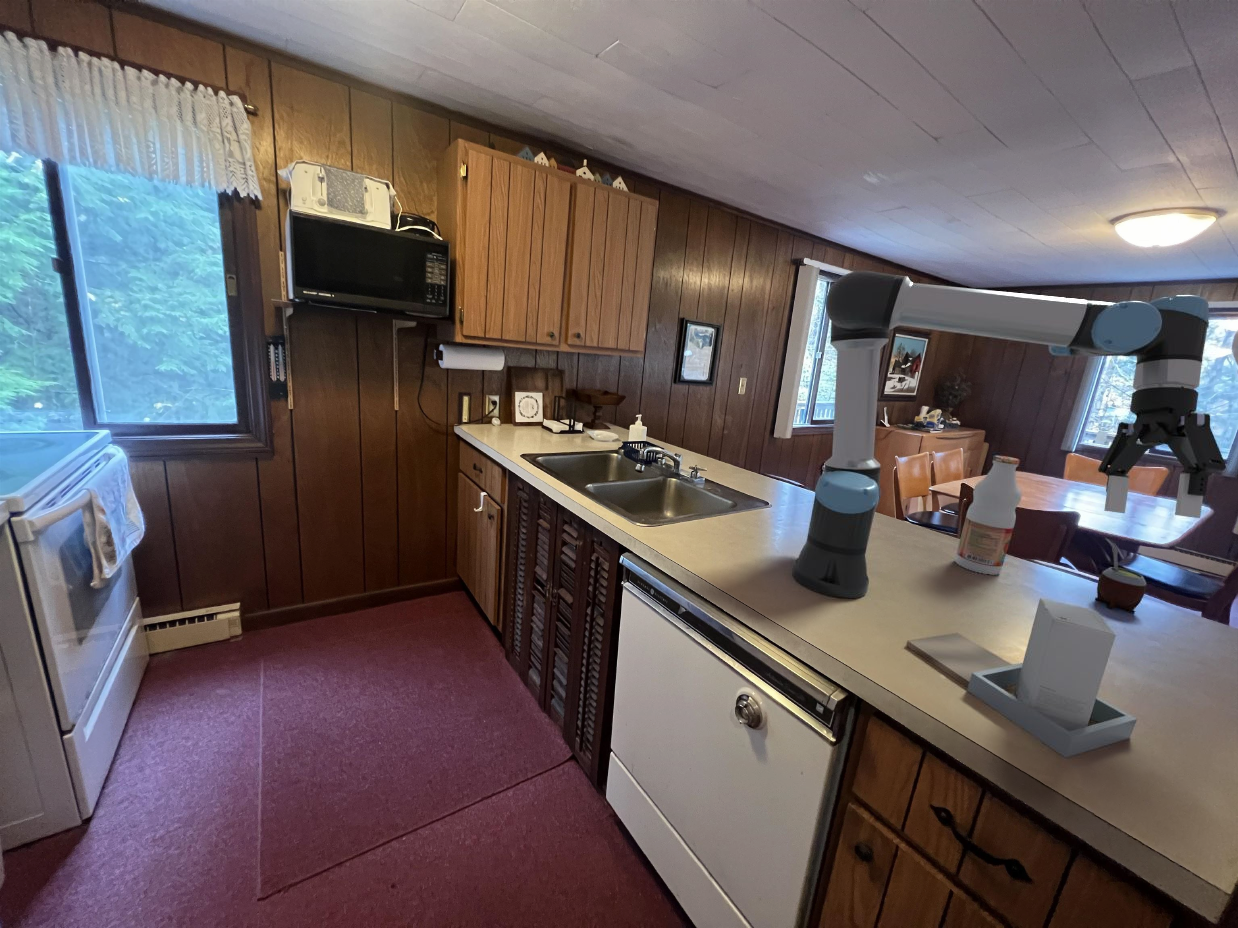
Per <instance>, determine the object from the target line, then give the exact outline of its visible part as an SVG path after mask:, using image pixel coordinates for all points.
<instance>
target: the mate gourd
mask: <svg viewBox="0 0 1238 928" xmlns="http://www.w3.org/2000/svg"><path fill="white" fill-rule="evenodd" d="M1104 540H1106V542H1107V543H1108V544H1109V545H1110V546H1111V548H1112V549H1111V551H1112V554H1113V567H1112V566H1111V567H1108V568H1106V569H1105V570H1103V571H1102V572H1101V574H1100V575H1099V577H1098V580H1097V587H1096V594H1097V596H1095V598H1094V600H1095V601H1097V602H1100V603H1102V604H1104V605H1108V606H1107V609H1108V610H1110V611H1113V610H1115V609H1119V610H1121V611H1124V612H1128V613H1130V614H1135V613H1136V611H1135V609H1136V608H1137V607H1138V606H1139V604H1140V603H1141V601H1142V600H1143V598H1144V595H1145V594H1146V592H1147V591H1146V590H1147V581H1146V579H1145V578H1144V576H1143V575H1141V574H1140V573H1138V572H1136V571H1132V570H1128V569H1126V568H1122V567H1119V565H1118V564H1119V562H1118V553H1119V551H1118V548H1117V547H1116V545H1115V543H1113V542H1112V541H1111V540H1110V539H1109V538H1107V537H1104Z"/></svg>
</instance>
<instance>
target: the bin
mask: <svg viewBox="0 0 1238 928" xmlns="http://www.w3.org/2000/svg"><path fill="white" fill-rule="evenodd" d="M1022 664H1023V662H1020V663H1015V664H1012V665H1009V666H1004V667H999V668H994V669H989V670H984V671H979V672H974V673H972V675H971V678H970V682H969V685H968V687H967V689H966V690H967V691H968V692H969V693H970V694H972V695H973V696H975V697H976V699H977V698H978V699H979V700H980V701H982V702H983V703H985V704H986V705H988V706H989V707H991V708H992V709H994V710H995V711H996V712H998V713H999V714H1001V716H1004V717H1005V718H1007V719H1008V720H1010V721H1011V722H1013V723H1014V724H1016V725H1017V726H1018V727H1020V728H1022V729H1023V730H1024V731H1025V732H1026V733H1029V734H1030V735H1031V736H1032V737H1034V738H1036V739H1037V740H1039V741H1040V742H1042V743H1043V744H1044V745H1046V746H1048V747H1049V748H1051V749H1052V750H1053V751H1054V752H1056V753H1058V754H1059V755H1060V756H1062V757H1064V758H1065V759H1066V758H1069V757H1072V756H1075V755H1076V756H1077V755H1078V754H1083V753H1086V752H1090V751H1092V750H1096V749H1098V748H1101V747H1102V748H1103V747H1104V746H1109V745H1112V744H1115V743H1118V742H1121V741H1125V740H1128V739H1130V738H1131V737H1132V734H1133V731H1134V729H1135V726H1136V724H1137V720H1138V718H1137V717H1135V716H1133V715H1131V714H1129V713H1127V712H1125V711H1123V710H1122V709H1120V708H1119V707H1116V706H1115V705H1113V704H1111V703H1110V702H1108V701H1105V700H1104V699H1102V698H1100V697H1099V696H1097V697H1096V700H1095V703H1094V706H1093V710H1092V713H1091V716H1090V719H1092V720H1093V721H1096V722H1097V723H1095V724H1092V725H1089V726H1087V727H1084V728H1080V729H1077V730H1073V731H1070V732H1069V731H1067V730H1066V729H1064V728H1063V727H1061V726H1059V725H1058V724H1056V723H1055V722H1053V721H1052V720H1050V719H1048V718H1047V717H1045V716H1044V715H1042V714H1041V713H1039V712H1037V711H1036V710H1034V709H1033V708H1031V707H1030V706H1028V705H1027V704H1025V703H1023V702H1022V701H1020V700H1019V699H1018V698H1017V696H1014V695H1012V694H1011V693H1010V692H1008V691H1006V690H1005V689H1003V688H1006V687H1011V686H1017V682H1018V679H1019V675H1020V671H1021V668H1022Z"/></svg>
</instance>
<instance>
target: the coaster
mask: <svg viewBox="0 0 1238 928" xmlns="http://www.w3.org/2000/svg"><path fill="white" fill-rule="evenodd" d="M905 646H906V647H908V648H909V649H910V650H912V651H913V652H914V653H916V654H918V655H919V656H921V657H922V658H924V659H925V660H927V661H928V662H929V663H931V664H933V665H934V666H935V667H937V668H939V669H940V670H941V671H943V672H944V673H946V674H947V675H949V676H950V677H952V678H953V679H954V680H955V681H957V682H959V683H961V684H962V685H963V686H965V687H966V688H968V685H969V682H970V678H971V675H972V673H974V672H979V671H984V670H989V669H994V668H999V667H1004V666H1009V665H1013V663H1010V662H1009V661H1007V660H1005V659H1003V658H1002V657H1000V656H999V655H997V654H995V653H994V652H992V651H990V650H988V649H986V648H984V647H983V646H981V645H980V644H978V643H976V642H975V641H973V640H971V639H969V638H967V637H966V636H964V635H962V634H960V633H959V632H955V633H947V634H941V635H935V636H928V637H922V638H916V639H909V640H907V641H906V645H905Z"/></svg>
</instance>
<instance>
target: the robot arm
mask: <svg viewBox="0 0 1238 928" xmlns="http://www.w3.org/2000/svg"><path fill="white" fill-rule="evenodd" d="M1209 307H1210V305H1209V302H1208V300H1207V299H1206V298H1205V297H1202V296H1198V295H1194V294H1193V295H1191V294H1184V295H1183V294H1182V295H1181V294H1179V295H1174V296H1164V297H1161V298H1157V299H1154V300H1152V301H1150V302H1145V301H1139V300H1124V301H1118V302H1108V301H1099V300H1087V299H1078V298H1068V297H1067V298H1066V297H1059V296H1050V295H1049V296H1048V295H1039V294H1038V295H1037V294H1028V293H1018V292H1011V291H1010V292H1009V291H1008V292H1007V291H997V290H989V289H978V288H977V289H976V288H967V287H957V286H950V285H949V286H947V285H937V284H927V283H916V282H912V281H911V280H910V278H909V276H906V275H896V274H892V273H891V274H889V273H883V272H876V271H873V270H871V271H870V270H855V271H851V272H849V273H846V274H844V275H843V276H841V277H839V278H838V279H837V280H836V281H835V282H833V284H832V286H831V287H830V288H829V291H828V292H827V295H826V299H825V311H826V314H827V317H828V318H829V320H830V342H829V343H830V345H831V346H832V347H833V348H834V349H835V350H836V352H837V353H836V370H835V373H836V374H835V391H834V392H835V393H834V394H835V395H834V411H833V412H834V416H833V434H832V435H833V436H832V454H831V457H830V458H828V459H827V460H825V461H824V473H823V474H821V475H820V476H819V478H818V479H817V482H816V483H817V484H815V488H814V499H813V504H812V510H811V516H810V521H809V527H808V532H807V537H806V541H805V544H804V545H803V547H802V548H801V550H800V553H799V555H798V557H797V558H796V559H795V561H794V562H793V566H792V571H791V573H792V576H793V578H794V580H796V582H797V583H799V584H800V585H802V586H804V587H805V588H808V589H809V590H812V591H814V592H817V593H820V594H823V595H826V596H829V597H830V596H831V597H836V598H840V599H841V598H843V599H855V598H856V599H858V598H861V597H864V596H865V595H866V594H867V592H868V588H869V586H870V585H869V583H870V579H869V576H868V572H867V570H868V569H867V567H868V566H867V560H866V554H867V550H868V549H867V548H868V543H869V539H870V534H871V530H872V527H873V526H872V525H873V521H874V516H875V513H876V511H877V508H878V505H879V503H880V501H881V500H880V499H881V496H882V495H881V492H882V490H881V487H880V486H881V485H880V481H881V467H882V466H881V463H880V462H879V461H878V460H877V459H875V455H874V454H875V442H876V438H875V436H876V425H877V423H876V421H877V406H878V405H877V404H878V394H879V393H878V390H879V377H880V374H879V373H880V372H879V371H880V362H881V361H880V358H881V349H882V348H883V347H884V346H885V345H886V344H887V343H888V342H889V339H890V330H892V329H894V328H896V327H898V326H904V327H910V328H911V327H912V328H919V329H927V330H928V329H929V330H935V331H943V332H949V333H957V334H963V335H964V334H966V335H971V336H980V337H987V338H988V337H989V338H995V339H1000V340H1001V339H1003V340H1009V341H1017V342H1026V343H1032V344H1041V345H1047V346H1048V351H1049V353H1050V354H1051V355H1053V356H1062V357H1064V356H1065V357H1071V358H1073V357H1136V362H1135V370H1134V374H1133V375H1134V376H1133V382H1132V388H1133V389H1134V390H1135V391H1134V392H1132V394H1131V400H1130V409H1129V411H1130V412H1131V413H1132V414H1134V415H1135V416H1136V419H1135V421H1134V422H1127V421H1124V422H1123V421H1121V422H1119V423H1118V425H1117V430H1116V434H1115V436H1114V438H1113V440H1112V441H1111V443H1110V446H1109V447H1108V450H1107V451H1106V453H1105V455H1104V457H1103V459H1102V461H1101V463H1100V464H1099V467H1098V468H1097V471H1098V473H1101V474H1105V475H1106V476H1107V482H1106V488H1105V491H1106V497H1105V503H1104V511H1105V512H1111V513H1119V514H1125V513H1126V507H1127V501H1128V494H1129V493H1128V492H1129V487H1130V479H1131V478H1130V476H1129V474H1128V473H1129V472H1130V471H1131V470H1132V469H1133V468H1134V466H1135V465H1136V464H1137V462H1139V461H1140V459H1141V458H1142V457H1143V456H1144V455H1145V453H1146V452H1147V451H1148V450H1151V449H1153V448H1154V447H1155V446H1157V447H1159V446H1163V445H1167V447H1168V448H1169V450H1171V452H1172V453H1173V454H1174V456H1175V457H1176V459H1177V461H1178V462H1179V463H1180V465H1181V466H1182V467H1183V469H1182V470H1181V472H1182V473H1180V474H1179V480H1178V482H1179V483H1178V487H1177V488H1178V489H1177V497H1176V505H1175V510H1174V511H1175V512H1174V515H1175V516H1179V517H1180V516H1181V517H1187V518H1192V519H1193V518H1195V519H1201V514H1202V507H1203V506H1202V505H1203V500H1204V499H1203V498H1204V496H1206V494H1207V489H1208V483H1209V481H1208V480H1209V476H1211V475H1212V474H1213V473H1215V472H1223V471H1225V470H1226V467H1227V465H1226V463H1225V459H1224V458H1223V456H1222V453H1221V450H1220V448H1219V445H1218V443H1217V440H1216V437H1215V436H1214V433H1213V431H1212V428H1211V414H1209V413H1206V412H1205V413H1204V412H1203V413H1202V412H1197V407H1198V400H1199V399H1198V398H1199V392H1198V391H1197V390H1196V389H1197V388H1199V386H1200V383H1201V381H1200V380H1201V373H1202V365H1203V357H1204V351H1205V344H1206V338H1207V332H1208V328H1209V326H1210V322H1209V317H1210V316H1209V315H1210V309H1209Z"/></svg>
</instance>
